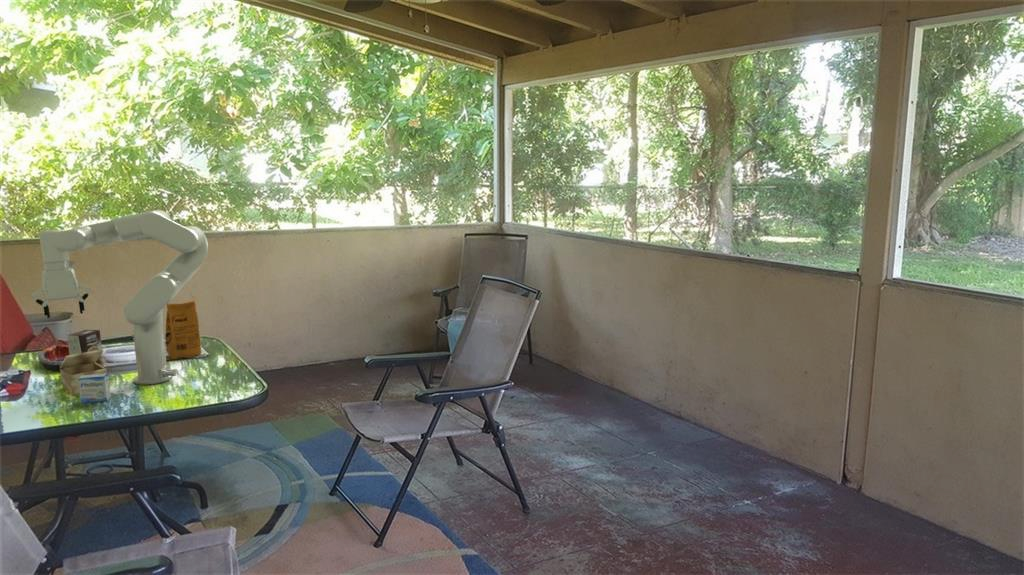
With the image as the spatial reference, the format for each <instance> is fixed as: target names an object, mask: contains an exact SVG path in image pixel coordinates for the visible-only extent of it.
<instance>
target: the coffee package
mask: <svg viewBox="0 0 1024 575" xmlns="http://www.w3.org/2000/svg"><path fill="white" fill-rule="evenodd" d="M166 309H167V311H166V317H165V318H166V319H165V321H166V323H165V335H164V336H165V337H164V342H165V352H166V353H167V354H168V357H169V359H171V360H176V359H180V358H191V357H195V356H199V355H202V344H201V336H200V335H201V334H200V324H199V318H198V313H197V304H196V301H195V300H194V299H193V300H190V301H187V302H182V303H168V304H167V305H166Z"/></svg>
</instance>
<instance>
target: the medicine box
mask: <svg viewBox="0 0 1024 575" xmlns="http://www.w3.org/2000/svg"><path fill="white" fill-rule="evenodd" d="M78 382H79V391H80V395H79V397H80V403H81V404H84V405H85V404H93V403H104V402H108V401H109V400H110V399H111V397H112V394H111V388H110V378H109V372H107V373H103V374H90V375H82V376H80V377H79V378H78Z"/></svg>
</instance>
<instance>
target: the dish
mask: <svg viewBox="0 0 1024 575" xmlns="http://www.w3.org/2000/svg"><path fill="white" fill-rule="evenodd" d="M68 355H69V347H68V344H54V345H52V346H49V347H47V348H45V349H43V350H41V351H40V352H39V354H38V355H37V358H38V362H40V364H41V365H42V366H43V367H44V368H46V369H47V370H52V371H60V366H61V364H62V362H63V361H64V359H65V358H66V356H68ZM61 369H62V368H61Z"/></svg>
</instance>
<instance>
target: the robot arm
mask: <svg viewBox="0 0 1024 575" xmlns="http://www.w3.org/2000/svg"><path fill="white" fill-rule="evenodd" d="M38 237H39V242H40V250H41V255H42V261H43V267H44V270H43V271H42V274H41V275H42V277H41V279H42V288H40V289H39V290H38V291H36V292H34V293H32V294H31V298H32V299H33V301H35V303H37V304H38V305H40V306H41V307H42V308H43V314H44V316H47V319H50V318H51V314H50V308H49V307H50V306H49V305H48V304H49V303H50V301H58V300H66V299H76V300H78V307H79V313H80V314H83V313H84V312H83V311H86V310H85V304H84V302H85V301H86V299H87V298H88V297H89V296H90V293H91V291H92V289H91V287H88V286H85V285H83V284H82V285H81V284H78V283H79V282H78V278H77V275H76V271H75V269H74V268H72V267H73V266H76V262H75V261H73V260H70V254H69V251H71V252H72V251H73V252H80V251H83V250H86V249H88V248H91V247H96V246H101V245H104V244H105V245H106V244H109V243H117V242H121V243H125V242H130V241H134V240H139V239H144V238H151V239H153V240H155V241H157V242H158V243H161V244H163V245H166V246H167V247H169V248H171V249H173V250H175V251H177V252H179V253H178V254H177V255H176V256H175V258H173V259H172V260H171V261H170V263H169V264H168V265H167V266H166V267H164V269H163V270H162V271H160V272H158V273H157V274H155V275H154V276H152V277H151V278H150V279H149V280H148V281H147V282H146V283H145V284H143V286H142V287H141V288H140V289H139V290H138V291H137V293H135V294H134V295H133V296H132V298H131V299H130V300H128V302H127V303H125V305H124V309H123V317H124V318H125V320H126V322H128V323H129V324H131V325H132V334H133V343H134V351H135V352H134V353H135V361H136V373H137V375H136V376H135V377H133V379H132V381H133V384H135V385H148V386H149V385H155V384H161V383H165V382H168V381H169V380H171V379H173V377H176V376H177V374H178V370H177V369H174V368H173V369H171V366H170V365H167V357H166V344H165V337H164V336H165V335H164V322H163V320H164V318H163V317H164V316H163V315H164V314H163V312H164V310H163V309H164V308H165V307H167V304H170V302H171V301H172V300H173V299H174V298H175V297H176V296H177V295H178V294H179V293H180V291H181V290H182V288H184V286H185V285H186V284H187V283H188V282H189V281H190V280H191V278H193V276H194V275H195V274H196V273H197V272H198V271H199V270H200V268H201V267H202V266H203V265H204V262H206V259H207V256H208V252H209V243H208V238H207V236H206V234H205V232H204V231H203V230H202V229H201V228H199V226H195V225H187V226H184V225H182V224H180V223H177V222H176V221H173V220H172V219H171V216H170V214H168V212H166V211H164V210H162V209H154V210H148V211H144V212H140V213H139V212H138V213H134V214H129V215H125V216H119V217H116V218H115V217H114V218H113V219H111V220H108V221H107V220H106V221H102V222H97V223H92V224H88V225H83V226H78V227H75V228H71V229H68V230H63V229H48V230H42V231H41V232H40V233H39V236H38ZM80 290H82V291H84V294H82V296H81V295H80ZM42 294H43V295H44V301H43V300H42V299H40V298H39V296H40V295H42Z"/></svg>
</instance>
